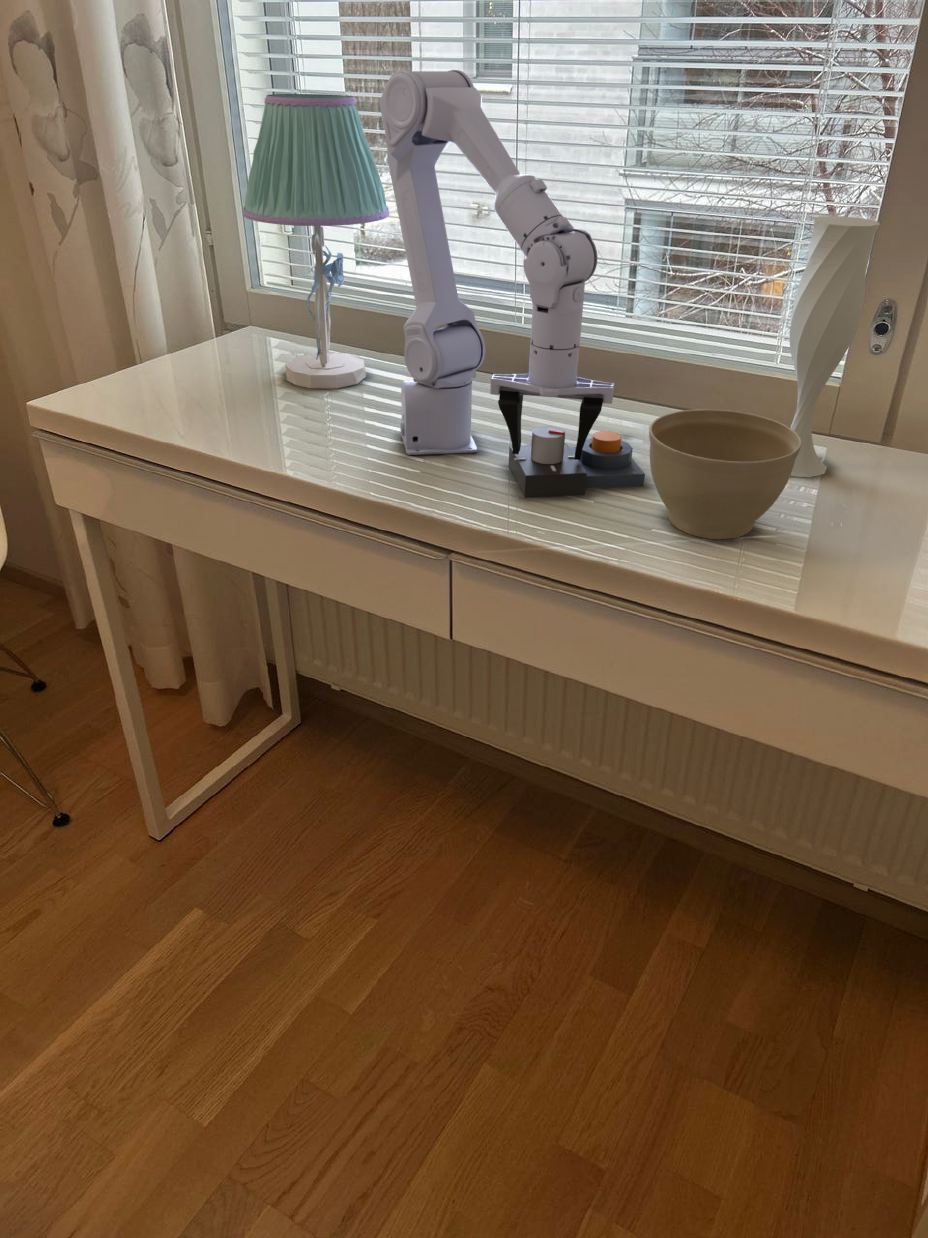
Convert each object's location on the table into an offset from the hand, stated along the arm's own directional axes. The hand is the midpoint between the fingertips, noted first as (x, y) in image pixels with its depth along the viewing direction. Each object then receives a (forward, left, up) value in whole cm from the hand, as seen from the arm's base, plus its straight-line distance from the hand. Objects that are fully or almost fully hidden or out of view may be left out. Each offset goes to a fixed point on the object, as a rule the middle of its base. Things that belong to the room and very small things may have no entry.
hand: (547, 454), depth 116 cm
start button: (+8, +2, 0) cm, 8 cm away
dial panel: (0, 0, -4) cm, 4 cm away
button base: (+8, +2, -4) cm, 9 cm away
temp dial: (0, 0, -1) cm, 1 cm away
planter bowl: (+16, -14, -4) cm, 22 cm away
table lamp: (-26, +46, -4) cm, 53 cm away
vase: (+34, +2, -4) cm, 34 cm away
